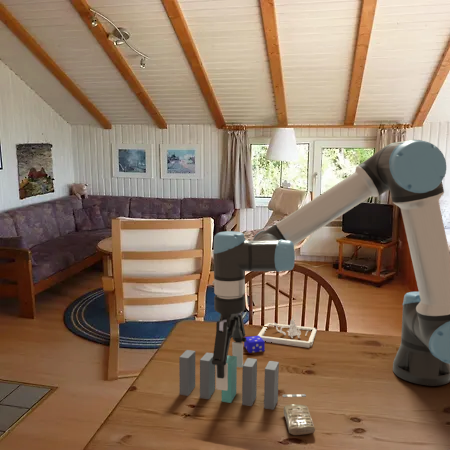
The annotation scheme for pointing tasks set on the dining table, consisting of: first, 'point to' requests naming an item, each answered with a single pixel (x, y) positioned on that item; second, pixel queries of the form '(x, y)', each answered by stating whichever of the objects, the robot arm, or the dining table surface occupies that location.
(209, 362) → the domino
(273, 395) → the domino
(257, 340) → the die
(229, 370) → the domino
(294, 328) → the shell
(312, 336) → the white flat rectangular frame
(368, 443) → the dining table surface
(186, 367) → the domino
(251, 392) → the domino
